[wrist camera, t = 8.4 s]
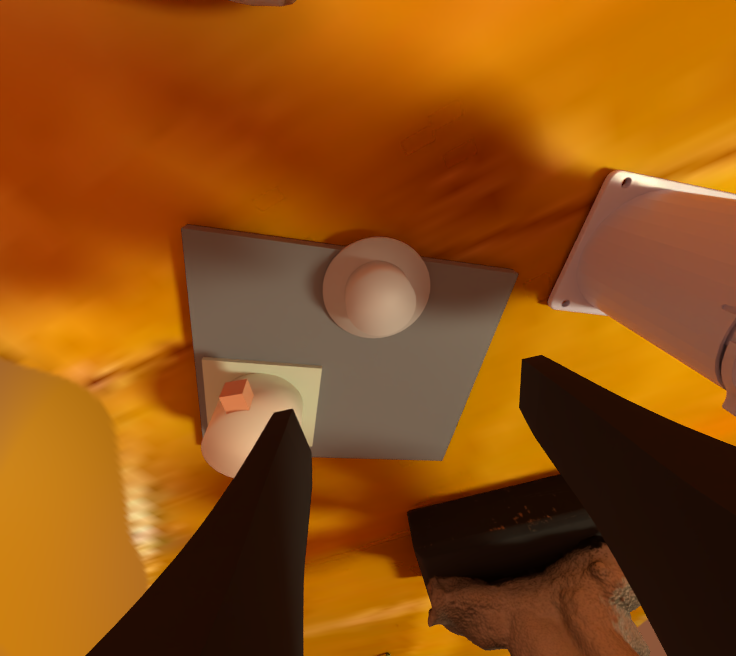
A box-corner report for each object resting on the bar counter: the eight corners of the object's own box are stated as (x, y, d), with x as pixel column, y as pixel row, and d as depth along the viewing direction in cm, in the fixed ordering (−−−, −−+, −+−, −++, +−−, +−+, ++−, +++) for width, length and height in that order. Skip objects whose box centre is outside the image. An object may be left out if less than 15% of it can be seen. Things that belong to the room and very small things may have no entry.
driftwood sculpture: (395, 581, 38) (458, 1002, 19) (358, 473, 28) (418, 1147, 9) (608, 535, 38) (877, 918, 19) (651, 408, 27) (1320, 969, 9)
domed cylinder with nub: (310, 426, 23) (308, 471, 20) (235, 439, 23) (221, 487, 20) (287, 352, 20) (280, 392, 16) (200, 366, 19) (176, 409, 16)
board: (518, 252, 19) (546, 269, 17) (439, 452, 27) (450, 483, 25) (185, 203, 16) (159, 215, 14) (207, 445, 24) (194, 479, 22)
